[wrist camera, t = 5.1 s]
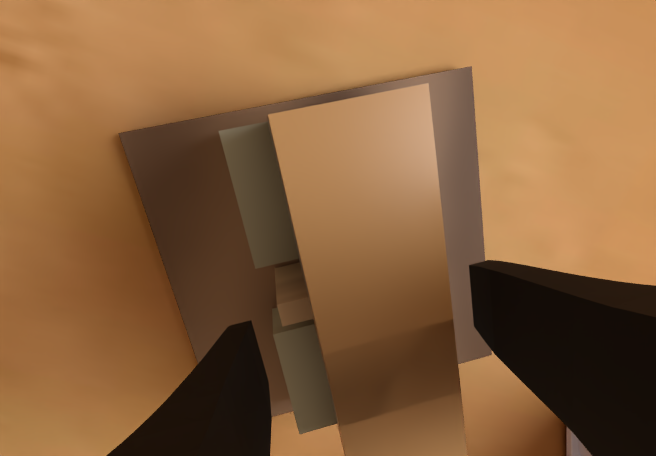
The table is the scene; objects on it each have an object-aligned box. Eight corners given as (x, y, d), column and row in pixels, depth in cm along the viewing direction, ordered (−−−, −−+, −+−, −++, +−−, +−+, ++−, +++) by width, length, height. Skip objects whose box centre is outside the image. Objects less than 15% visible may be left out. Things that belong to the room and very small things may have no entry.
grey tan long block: (360, 103, 11) (428, 82, 7) (408, 406, 15) (476, 537, 10) (267, 122, 11) (268, 114, 6) (338, 427, 14) (373, 572, 10)
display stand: (460, 69, 14) (530, 47, 11) (482, 345, 18) (539, 402, 14) (127, 133, 13) (69, 133, 9) (223, 417, 17) (210, 502, 13)
